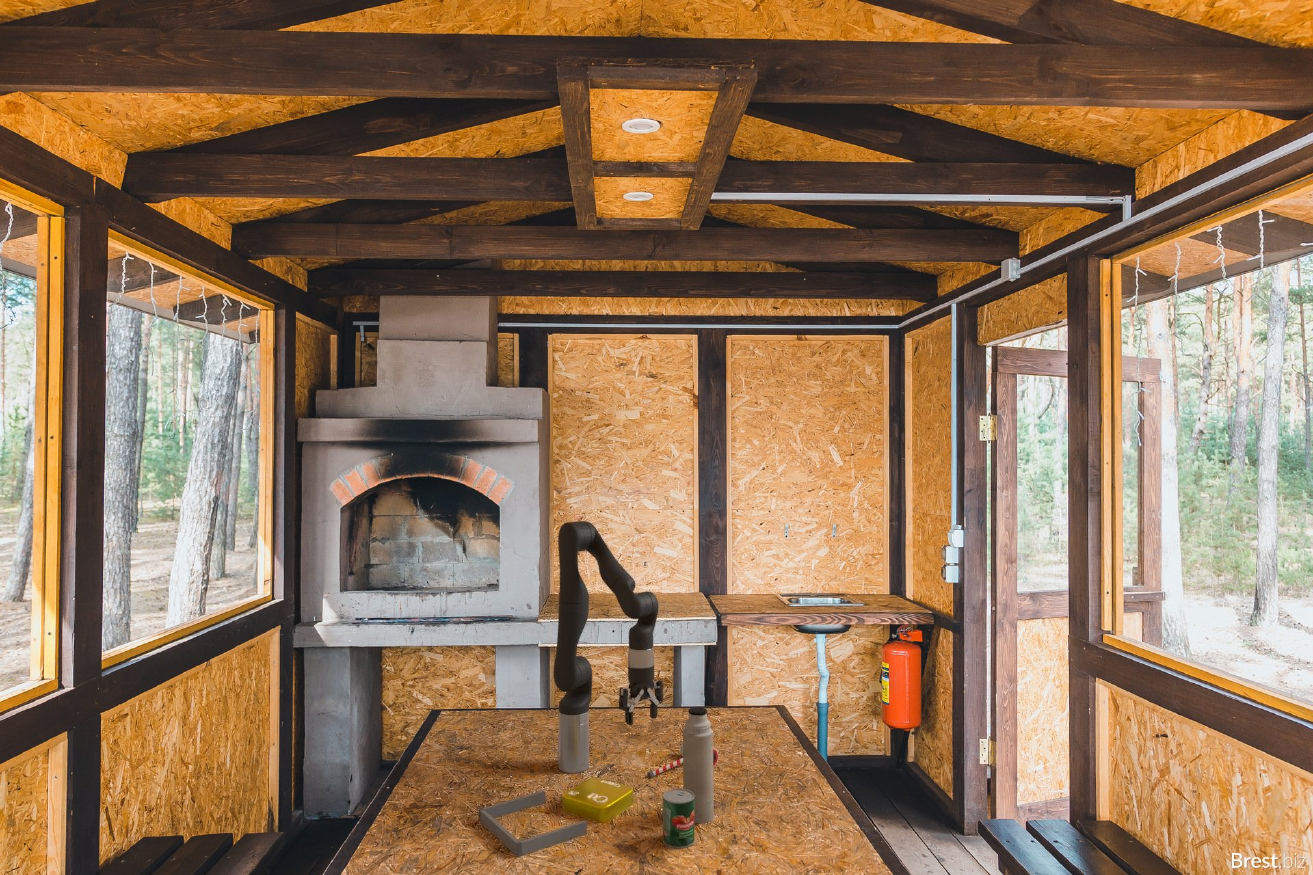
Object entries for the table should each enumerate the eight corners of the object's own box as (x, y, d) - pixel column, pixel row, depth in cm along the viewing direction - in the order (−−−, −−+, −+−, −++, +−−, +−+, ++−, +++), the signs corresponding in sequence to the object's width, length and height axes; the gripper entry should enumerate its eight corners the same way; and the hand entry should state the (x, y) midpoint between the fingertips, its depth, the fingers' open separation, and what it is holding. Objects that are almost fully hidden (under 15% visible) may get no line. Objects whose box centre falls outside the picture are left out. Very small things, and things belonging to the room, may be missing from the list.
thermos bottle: (688, 807, 207) (687, 702, 208) (717, 811, 204) (716, 705, 205) (679, 820, 199) (678, 712, 200) (709, 825, 197) (708, 715, 197)
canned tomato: (684, 851, 183) (684, 805, 184) (656, 843, 188) (656, 797, 188) (700, 837, 190) (700, 792, 190) (673, 829, 194) (673, 785, 195)
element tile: (636, 803, 210) (636, 785, 210) (604, 825, 198) (604, 806, 198) (592, 791, 218) (592, 774, 218) (559, 811, 205) (559, 793, 206)
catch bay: (478, 820, 200) (478, 809, 200) (543, 801, 211) (543, 790, 211) (517, 857, 181) (517, 844, 181) (586, 833, 192) (586, 821, 193)
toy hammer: (661, 785, 222) (660, 763, 222) (637, 772, 231) (637, 751, 231) (719, 766, 236) (719, 745, 236) (694, 754, 245) (694, 734, 245)
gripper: (652, 656, 225) (652, 712, 224) (613, 665, 216) (613, 723, 215) (668, 661, 219) (669, 719, 218) (629, 670, 210) (629, 730, 209)
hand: (641, 721), depth 217 cm, fingers open, 8 cm apart
